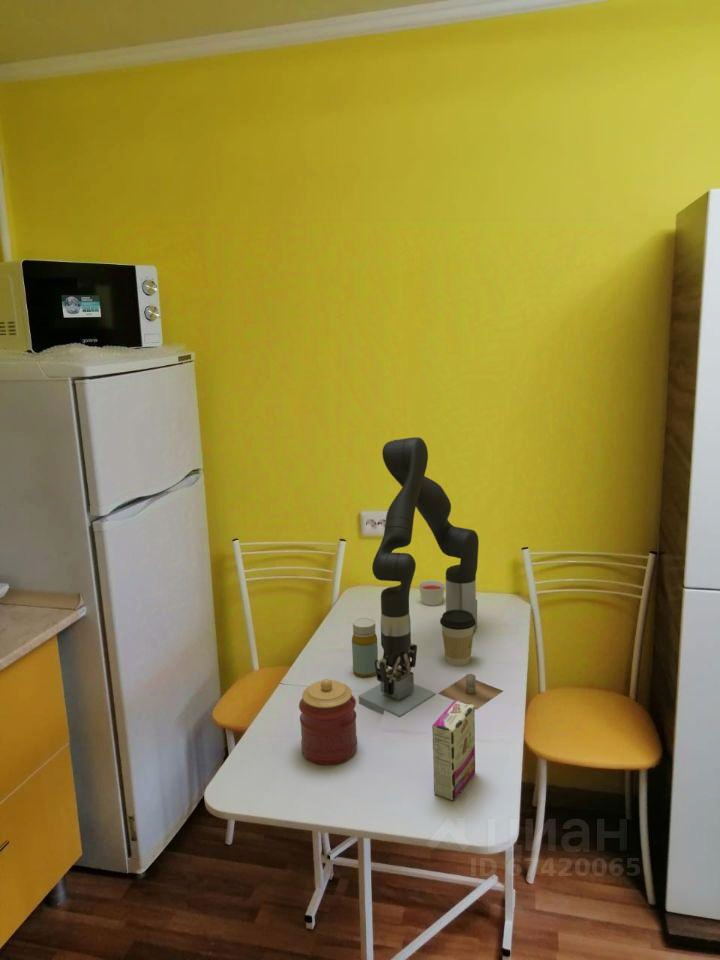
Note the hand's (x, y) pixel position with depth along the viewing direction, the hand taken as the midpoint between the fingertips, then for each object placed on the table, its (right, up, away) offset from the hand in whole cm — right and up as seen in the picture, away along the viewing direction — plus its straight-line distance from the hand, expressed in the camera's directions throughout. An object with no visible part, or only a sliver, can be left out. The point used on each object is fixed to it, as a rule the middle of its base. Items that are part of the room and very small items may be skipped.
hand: (397, 689), depth 186 cm
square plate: (0, -3, +1) cm, 3 cm away
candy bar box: (+11, -11, -32) cm, 36 cm away
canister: (-17, -9, -19) cm, 26 cm away
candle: (+15, +11, +64) cm, 66 cm away
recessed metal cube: (0, -1, 0) cm, 1 cm away
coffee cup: (+18, +1, +19) cm, 26 cm away
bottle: (-8, 0, +17) cm, 18 cm away
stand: (+19, -3, +2) cm, 19 cm away
